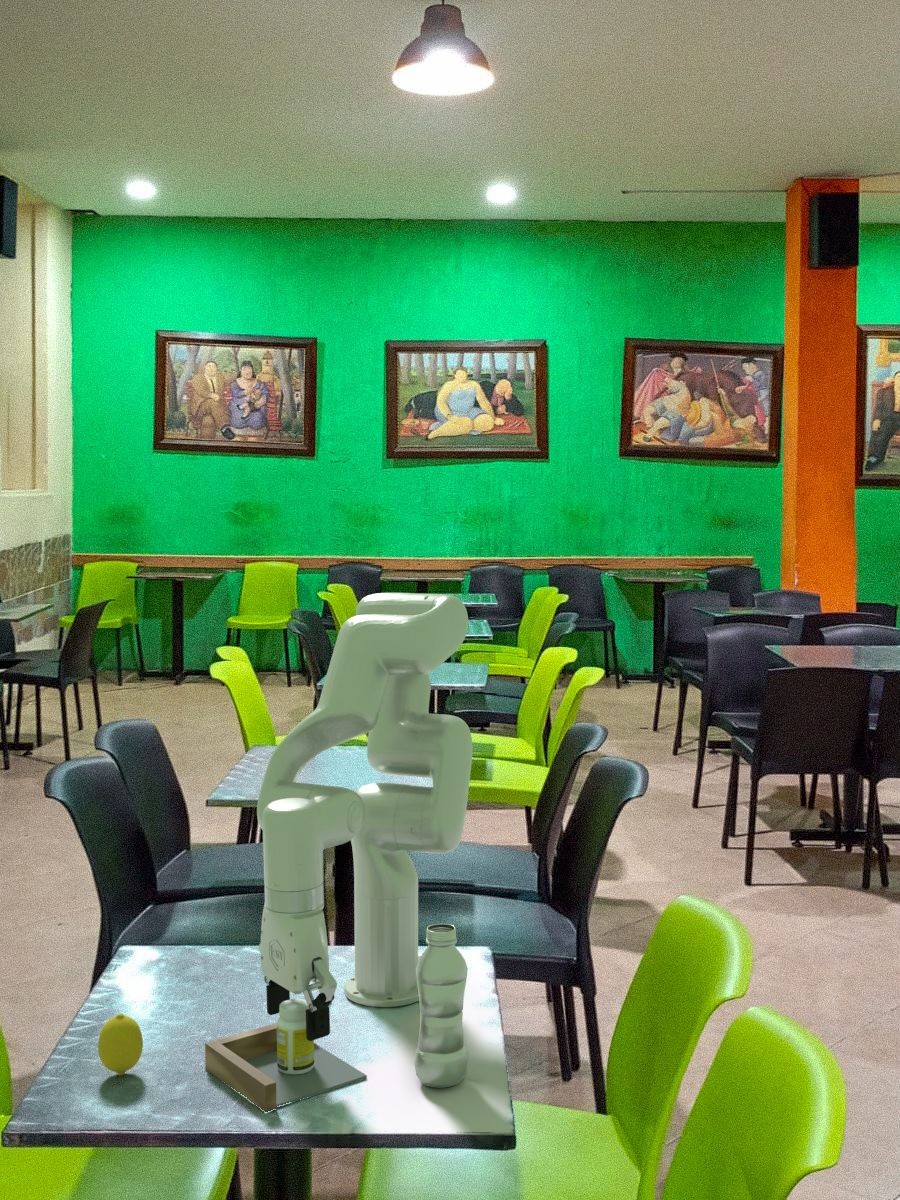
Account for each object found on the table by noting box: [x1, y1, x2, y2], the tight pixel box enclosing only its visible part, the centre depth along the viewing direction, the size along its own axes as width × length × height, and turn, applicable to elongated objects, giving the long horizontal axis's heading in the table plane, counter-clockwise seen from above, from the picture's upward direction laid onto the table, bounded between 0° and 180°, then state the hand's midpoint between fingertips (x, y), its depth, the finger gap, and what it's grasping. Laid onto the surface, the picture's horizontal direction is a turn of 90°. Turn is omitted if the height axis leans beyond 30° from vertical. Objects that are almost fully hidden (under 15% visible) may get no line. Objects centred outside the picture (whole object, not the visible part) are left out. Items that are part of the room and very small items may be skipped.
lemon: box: [97, 1013, 144, 1076], centre depth 166 cm, size 6×6×8 cm
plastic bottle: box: [414, 923, 468, 1088], centre depth 163 cm, size 6×7×20 cm
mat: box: [245, 1042, 368, 1106], centre depth 166 cm, size 14×14×1 cm
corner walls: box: [204, 1022, 278, 1112], centre depth 166 cm, size 16×16×4 cm
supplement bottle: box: [276, 998, 315, 1075], centre depth 167 cm, size 5×5×8 cm
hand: (298, 1024), depth 167 cm, fingers open, 9 cm apart
